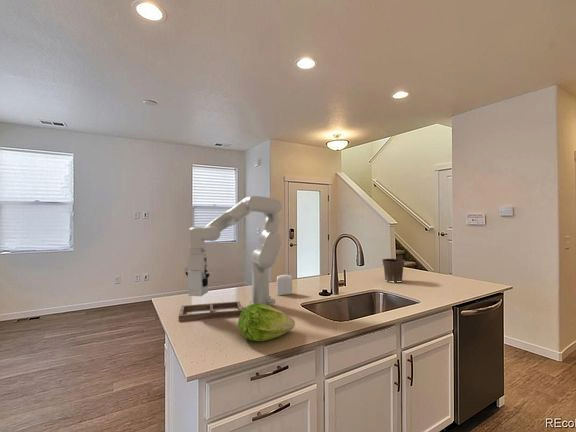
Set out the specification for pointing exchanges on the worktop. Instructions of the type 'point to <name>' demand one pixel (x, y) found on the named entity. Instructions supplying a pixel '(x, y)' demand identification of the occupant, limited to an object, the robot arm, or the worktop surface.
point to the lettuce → (263, 322)
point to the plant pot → (393, 269)
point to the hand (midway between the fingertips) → (198, 285)
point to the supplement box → (196, 284)
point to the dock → (211, 314)
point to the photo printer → (284, 284)
